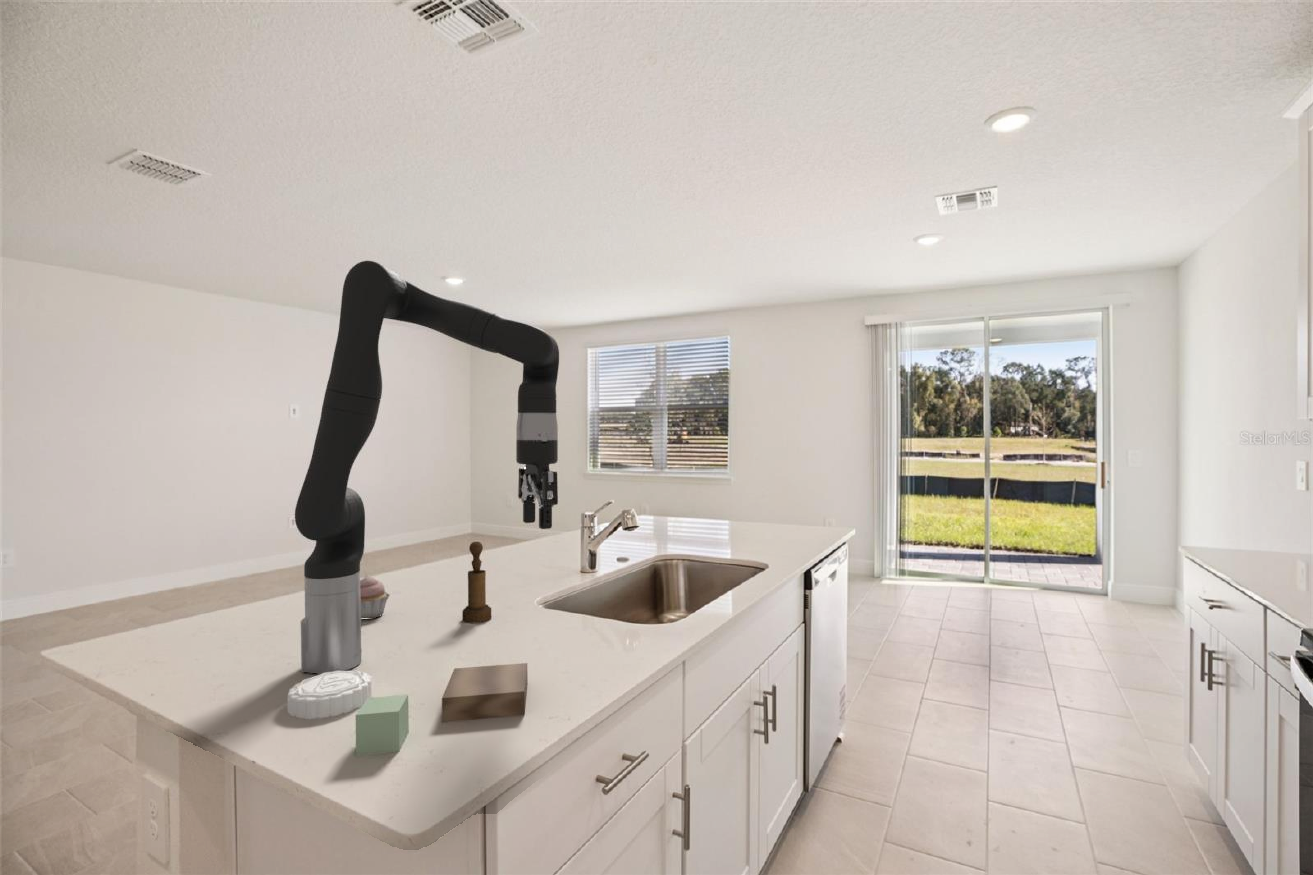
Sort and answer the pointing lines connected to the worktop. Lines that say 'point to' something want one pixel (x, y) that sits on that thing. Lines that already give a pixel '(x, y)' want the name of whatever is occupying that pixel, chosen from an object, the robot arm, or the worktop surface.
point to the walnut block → (485, 692)
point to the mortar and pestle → (476, 590)
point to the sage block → (382, 725)
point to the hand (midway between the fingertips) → (537, 525)
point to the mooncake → (329, 694)
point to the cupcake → (372, 597)
